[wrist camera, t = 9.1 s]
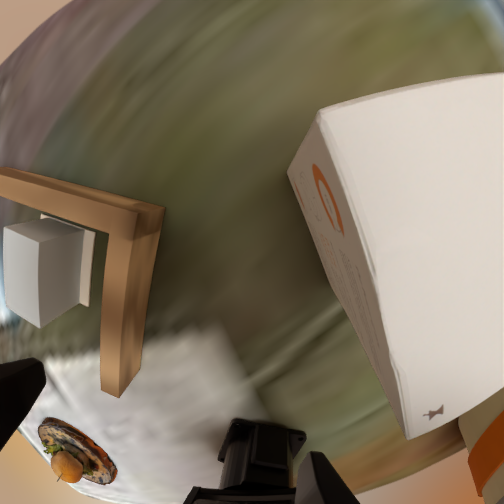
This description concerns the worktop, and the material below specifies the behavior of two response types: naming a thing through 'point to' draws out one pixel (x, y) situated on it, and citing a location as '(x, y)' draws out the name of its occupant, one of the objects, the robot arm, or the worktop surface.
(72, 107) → the worktop surface
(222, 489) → the robot arm
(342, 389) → the worktop surface
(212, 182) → the worktop surface
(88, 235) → the pad
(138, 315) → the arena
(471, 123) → the small box
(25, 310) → the block
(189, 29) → the worktop surface
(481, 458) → the reusable coffee cup
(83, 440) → the burger
